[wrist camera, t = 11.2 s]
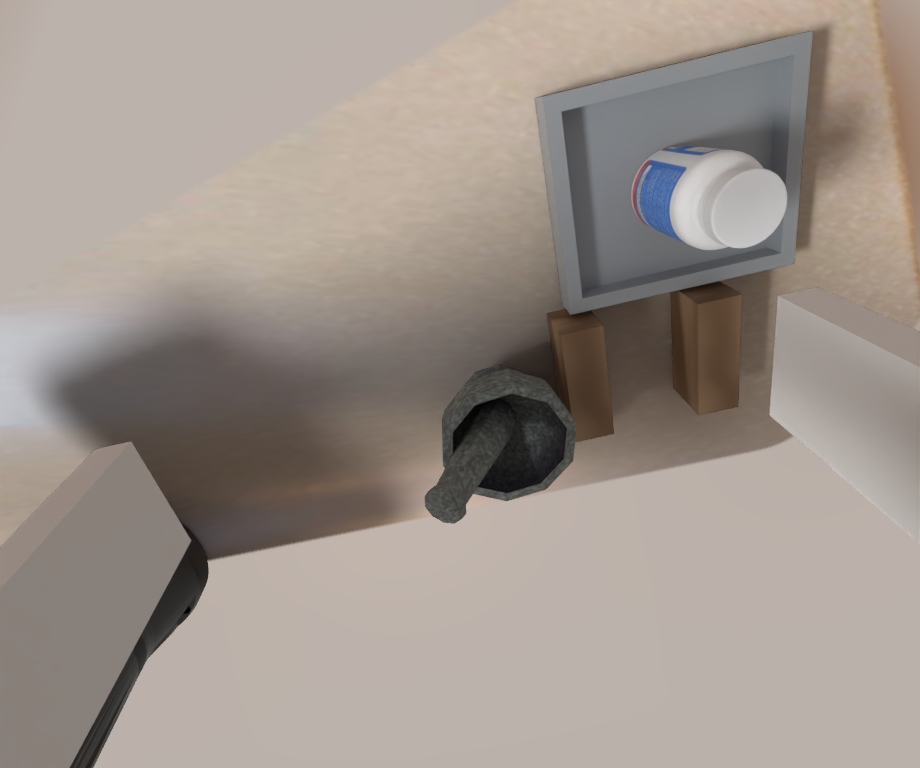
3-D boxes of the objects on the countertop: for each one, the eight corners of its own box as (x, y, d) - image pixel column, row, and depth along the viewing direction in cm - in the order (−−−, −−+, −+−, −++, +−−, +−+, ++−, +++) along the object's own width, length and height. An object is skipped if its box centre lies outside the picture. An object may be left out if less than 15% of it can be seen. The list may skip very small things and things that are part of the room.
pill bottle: (653, 244, 38) (722, 284, 29) (614, 182, 35) (676, 204, 27) (722, 193, 36) (816, 218, 28) (685, 125, 34) (775, 129, 25)
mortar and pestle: (540, 330, 41) (582, 406, 30) (567, 427, 45) (612, 523, 34) (404, 374, 42) (398, 464, 31) (443, 465, 46) (449, 571, 35)
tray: (562, 303, 40) (570, 314, 38) (534, 98, 34) (542, 97, 31) (773, 255, 39) (794, 263, 37) (786, 36, 33) (812, 30, 31)
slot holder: (561, 412, 44) (575, 442, 40) (546, 313, 40) (560, 335, 36) (709, 379, 44) (738, 406, 40) (709, 276, 40) (742, 294, 36)
